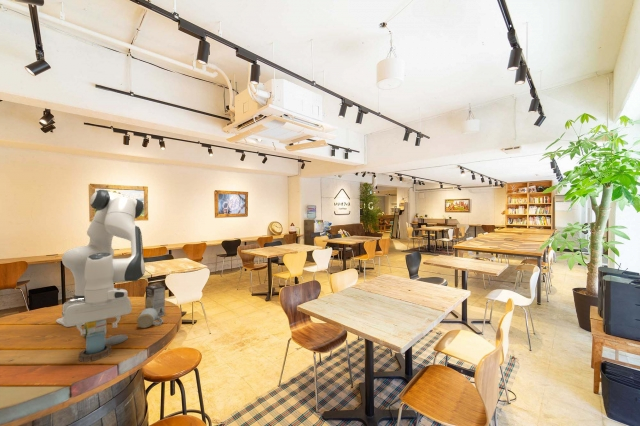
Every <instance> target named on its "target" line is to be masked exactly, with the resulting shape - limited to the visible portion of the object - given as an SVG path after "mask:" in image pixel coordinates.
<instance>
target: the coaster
mask: <svg viewBox="0 0 640 426" xmlns="http://www.w3.org/2000/svg"><path fill="white" fill-rule="evenodd" d="M128 337H129V336H128V335H126V334H119V335H118V334H117V335H112V336H110V337H105V344H108V345H111V346H115V345H118V344H122V343H123V342H125V341H127V340H128Z"/></svg>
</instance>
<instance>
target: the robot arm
mask: <svg viewBox="0 0 640 426" xmlns="http://www.w3.org/2000/svg"><path fill="white" fill-rule="evenodd" d="M89 202H90V207H91V208H92V209H94V210H96V212H95V214H94V216H93V218H92V221H91V222H90V223H89V227H88V228H87V230H86V235H87V236H88V237H89V243H88V244H87V245H83V246H76V247H73V248H71V249H68V250H66V251H65V252H64V253H63V254H62V256H61V261H62V264H63V266H64V267H65V268H67V269H69V271H70V272H71V273H72V276H73V278H74V294H73V295H71V296H72V297H71V298H72V299H68V300H67V301H65V302H64V303H63V304H62V311H61V316H62V317H60V318H57V319H56V320H55V321H56V323H58V324H60V325H62V326H63V327H65V328H69V327H75V326H76V329H77V330H78V331H79V332H80V337H81V336H85V335H86V329H85V328H83V327H82V326H85V323H87V322H92V321H97V320H102V319H106V318H107V319H110V318H111V319H112V318H116V319H115V321H114V322H112V323H111V324H112V326H111V327H112V329H116V328H118V324H119V323H120V320H121V318H122V316H126V315H130V314H131V312H132V302H131V299H130V297H129V296H128V293H129V292H128V291H127V290H126V289H125V288H115V284H114V283H115V282H117V283H118V282H137V281H139V280H140V279H141V278H143V277H144V276H145V273H146V265H145V260H144V247H143V246H144V244H143V235H142V231H141V228H140V227H139V226H138V225H136V223H135V221H136V219H137V218H139V217H140V216H141V215H142V214H143V212H144V208H145V205H144V202H143V201H142V200H140V199H138V198H134V197H131V196H130V195H129V196H128V195H126V194H122V193H118V192H114V191H109V190H107V189H98V190H96V191H95V192H93V194H92V195H91V196H90V201H89ZM114 237H117V238H121V239H123V240H126V241H129V242H130V246H131V247H130V248H131V255H130V256H129V257H127V258H126V257H125V258H114V255H115V250H114V248H113V247H112V243H113V242H112V241H113V238H114Z"/></svg>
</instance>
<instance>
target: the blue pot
mask: <svg viewBox="0 0 640 426" xmlns="http://www.w3.org/2000/svg"><path fill="white" fill-rule="evenodd" d="M85 339H86V340H85V345H86V346H85V349H86V355H89V354H95V353H99V352H102V351H104V350H105V339H106V333H105V332H104V331H99V332H98V331H95V332H94V333H91V334H89V335H87V336H86V338H85Z"/></svg>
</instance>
